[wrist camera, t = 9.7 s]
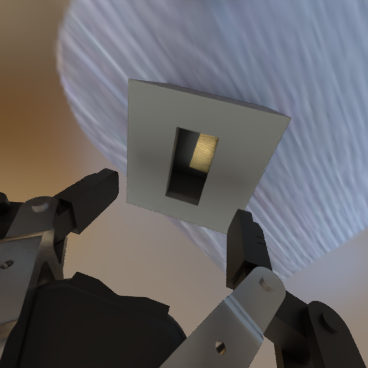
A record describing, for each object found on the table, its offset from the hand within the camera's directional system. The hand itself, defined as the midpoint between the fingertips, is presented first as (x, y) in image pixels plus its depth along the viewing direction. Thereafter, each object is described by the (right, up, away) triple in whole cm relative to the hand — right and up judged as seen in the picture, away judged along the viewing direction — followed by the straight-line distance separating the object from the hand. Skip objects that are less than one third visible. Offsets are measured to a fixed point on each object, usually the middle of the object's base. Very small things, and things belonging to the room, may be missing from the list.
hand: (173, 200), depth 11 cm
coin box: (+3, +7, +12) cm, 14 cm away
